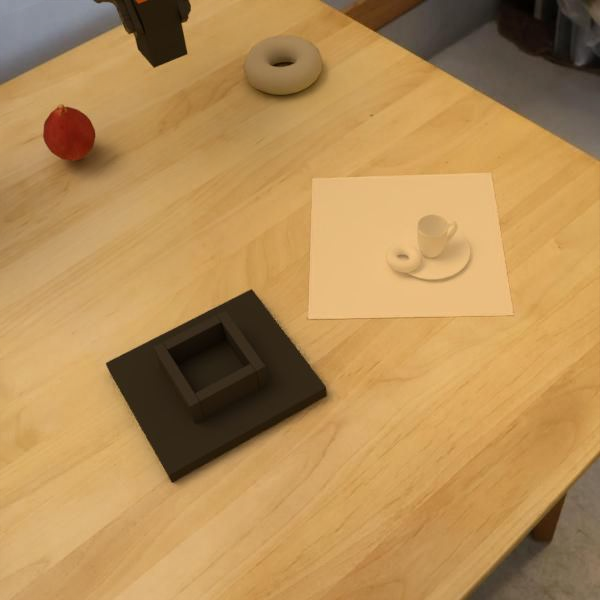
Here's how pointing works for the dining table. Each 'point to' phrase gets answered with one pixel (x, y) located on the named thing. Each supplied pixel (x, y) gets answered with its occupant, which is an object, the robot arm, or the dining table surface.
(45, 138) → the pomegranate
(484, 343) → the dining table surface
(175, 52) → the pad block
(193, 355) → the base pad
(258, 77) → the donut
